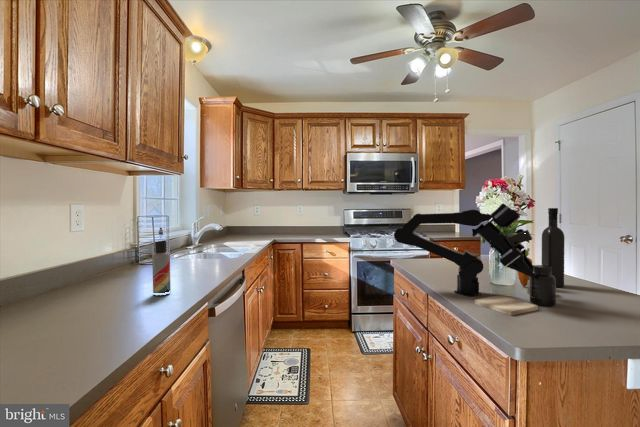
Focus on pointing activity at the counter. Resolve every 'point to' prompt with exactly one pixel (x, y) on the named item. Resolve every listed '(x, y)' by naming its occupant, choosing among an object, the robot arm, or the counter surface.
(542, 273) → the supplement bottle
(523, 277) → the carrot
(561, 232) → the wine bottle
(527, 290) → the oak block
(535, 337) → the counter surface
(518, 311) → the maple board
